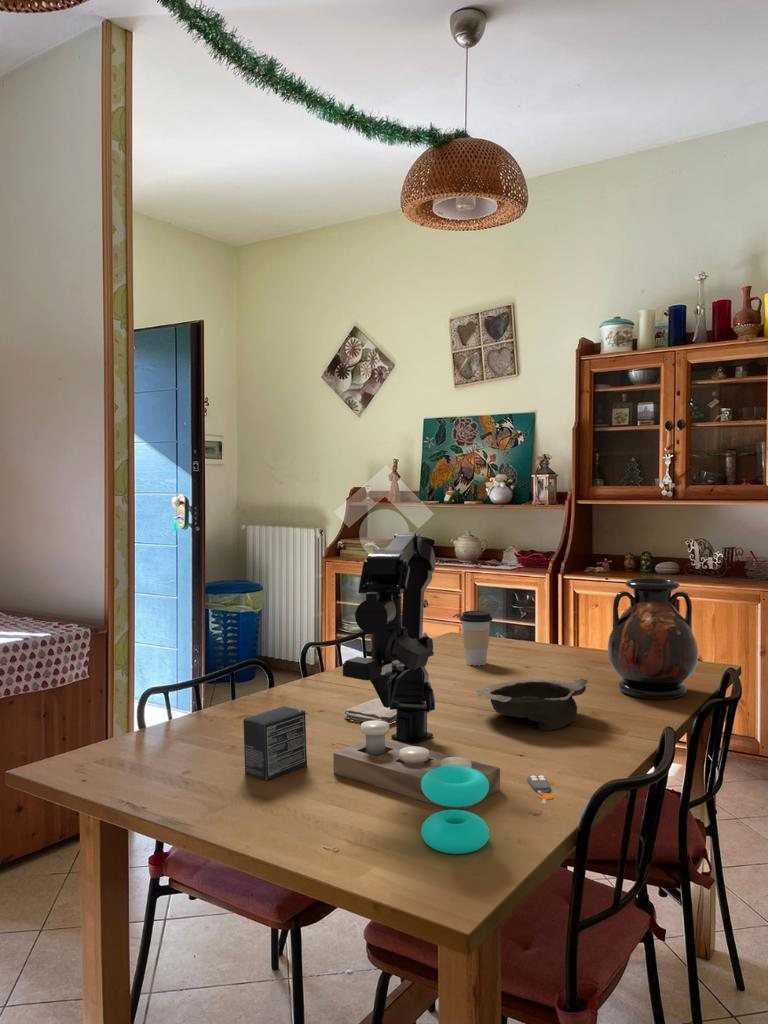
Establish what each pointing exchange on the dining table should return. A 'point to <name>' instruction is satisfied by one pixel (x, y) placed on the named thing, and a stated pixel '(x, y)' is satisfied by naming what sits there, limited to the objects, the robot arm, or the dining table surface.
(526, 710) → the stone bowl
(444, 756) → the mount
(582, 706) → the dining table surface
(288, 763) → the small box
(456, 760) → the knob
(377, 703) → the washcloth
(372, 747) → the knob
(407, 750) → the knob middle
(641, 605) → the amphora vase
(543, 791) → the key chain
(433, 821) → the donuts
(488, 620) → the coffee cup
